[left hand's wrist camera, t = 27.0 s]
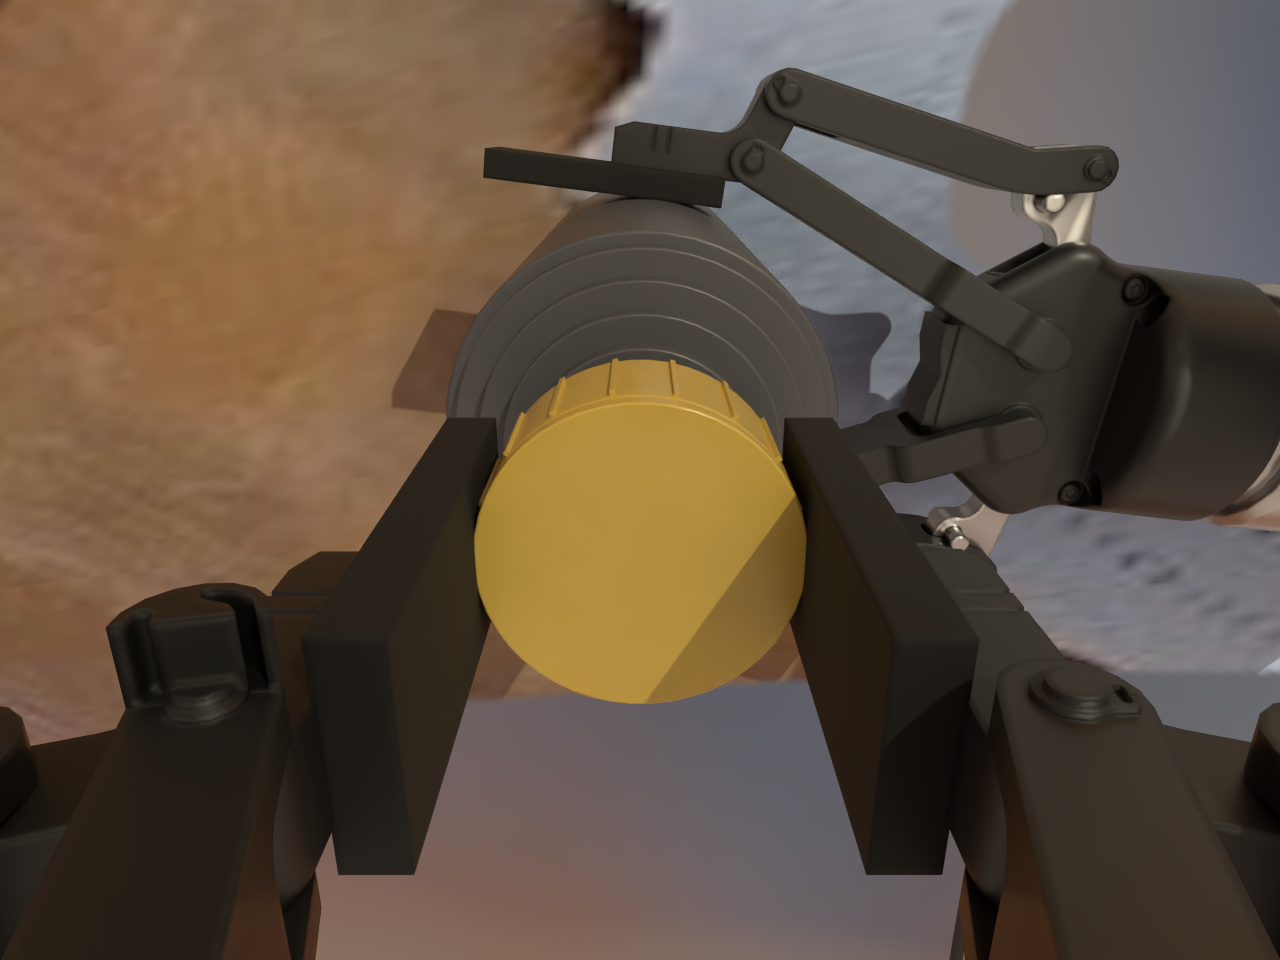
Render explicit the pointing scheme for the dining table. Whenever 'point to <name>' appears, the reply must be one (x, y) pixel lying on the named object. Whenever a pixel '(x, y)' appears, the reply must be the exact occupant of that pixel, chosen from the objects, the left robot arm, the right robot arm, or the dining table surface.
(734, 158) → the right robot arm
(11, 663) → the dining table surface
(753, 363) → the bottle
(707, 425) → the cap
